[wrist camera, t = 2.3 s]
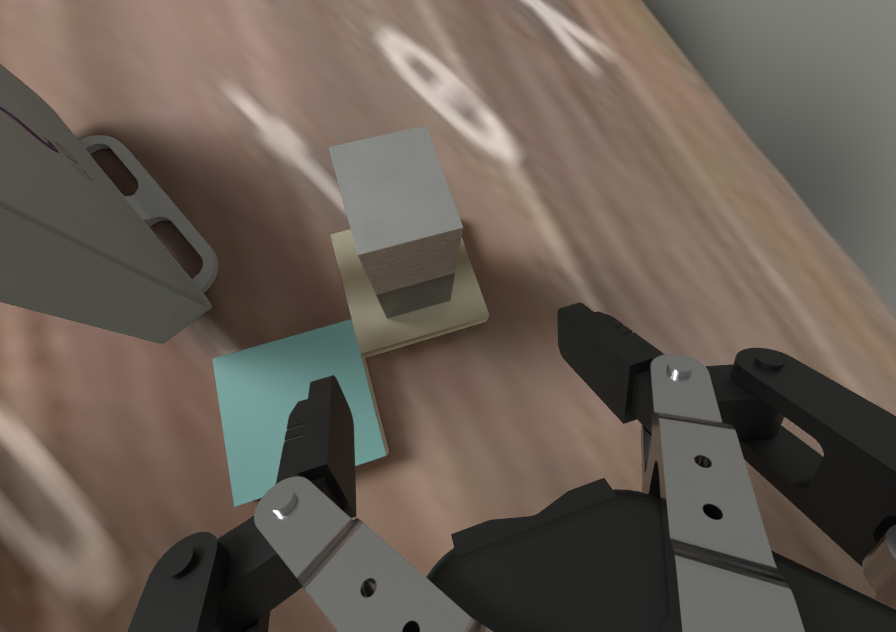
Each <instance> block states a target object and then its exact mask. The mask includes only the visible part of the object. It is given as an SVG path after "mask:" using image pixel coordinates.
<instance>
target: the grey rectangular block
mask: <svg viewBox="0 0 896 632" xmlns="http://www.w3.org/2000/svg"><path fill="white" fill-rule="evenodd" d="M328 148H329V151H330V155H331V159H332V162H333V166H334V170H335V173H336V177H337V181H338V185H339V188H340V192H341V196H342V199H343V203H344V207H345V210H346V214H347V218H348V221H349V225H350V229H351V232H352V236H353V240H354V243H355V247H356V251H357V254H358V257H359V259H360V261H361V263H362V266H363V268H364V270H365V272H366V274H367V277H368V279H369V281H370V283H371V285H372V287H373V290H374V292H375V294H376V296H377V298H378V300H379V303H380V305H381V307H382V309H383V311H384V314H385V316H386V318H387V319H388V318H391V317H395V316H398V315H402V314H405V313H409V312H412V311H416V310H419V309H423V308H426V307H430V306H433V305H437V304H440V303H444V302H447V301H450V300H451V294H452V289H453V283H454V277H455V272H456V266H457V260H458V254H459V249H460V243H461V237H462V232H463V226H462V223H461V220H460V217H459V214H458V212H457V209H456V206H455V203H454V201H453V198H452V195H451V192H450V190H449V187H448V184H447V181H446V179H445V176H444V173H443V170H442V167H441V165H440V162H439V159H438V156H437V154H436V151H435V148H434V145H433V143H432V140H431V137H430V134H429V131H428V129H427V126H422V127H418V128H413V129H408V130H404V131H399V132H395V133H390V134H386V135H381V136H377V137H372V138H368V139H363V140H358V141H354V142H349V143H345V144H340V145H336V146H331V147H328Z"/></svg>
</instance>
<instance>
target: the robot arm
mask: <svg viewBox="0 0 896 632" xmlns="http://www.w3.org/2000/svg"><path fill="white" fill-rule="evenodd" d="M558 346H559V350H560V353H561V355H562V357H563V358H564V360H565V361H566V362H567V363H568V364H569V365H570V366H571V367H572V368H573V370H574V371H575V372H576V373H577V374H578V375H579V376H580V377H581V378H582V379H583V380H584V381H585V383H586V384H587V385H588V386H589V387H590V388H591V389H592V390H593V391H594V392H595V393H596V394H597V396H598V397H599V398H600V399H601V400H602V401H603V402H604V403H605V404H606V405H607V406H608V408H609V409H610V410H611V411H612V412H613V413H614V414H615V415H616V416H617V417H618V418H619V419H620V421H621V422H622V423H623V424H625V423H628V422H630V421H633V420H636V419H637V420H638V421H639V422H640V423H641V424H642V426H641V452H642V479H643V483H642V492H638V491H631V490H612V488H611V487H610V485H609V484H608V483H607V481H606V480H605V479H604V478H603V479H600V480H597V481H594V482H592V483H589V484H586V485H584V486H581V487H578V488H575V489H573V490H570V491H568V492H566V493H565V494H564V495H562V496H561V497H560V498H558V499H557V500H556V501H554V502H553V503H552V504H550V505H549V506H548V507H546V508H545V509H544V510H542V511H541V512H540V513H538V514H537V515H534V516H529V517H518V518H507V519H495V520H489V521H486V522H483V523H481V524H478V525H475V526H473V527H470V528H467V529H464V530H462V531H459V532H456V533H454V534H451V536H452V540H453V544H454V548H453V549H452V550H450V551H449V552H448V553H446V554H445V555H444V556H443V557H442V558H441V559H440V560H439V561H438V562H437V564H436V565H435V566H434V567H433V568H432V570H431V571H430V573H429V574H428V576H427V577H425V576H424V575H423V574H421V573H420V572H419V571H418V570H417V569H416V568H415V567H414V566H412V565H411V564H410V563H409V562H408V561H407V560H406V559H404V558H403V557H402V556H401V555H400V554H399V553H398V552H397V551H395V550H394V549H393V548H392V547H391V546H390V545H389V544H388V543H386V542H385V541H384V540H383V539H382V538H381V537H380V536H378V535H377V534H376V533H375V532H374V531H373V530H372V529H371V528H369V527H368V526H367V525H366V524H365V523H364V522H362V521H361V520H359V519H357V518H356V519H355V520H353V519H351V518H353V517H356V483H355V443H354V421H353V416H352V413H351V410H350V407H349V405H348V403H347V400H346V398H345V396H344V394H343V391H342V389H341V387H340V385H339V383H338V380H337V378H336V377H335V376H334V375H332V376H328V377H325V378H322V379H318V380H315V381H312V382H310V387H309V394H308V399H305V400H302V401H299V402H297V404H296V406H295V407H294V409H293V410H292V412H291V413H290V415H289V419H288V424H287V431H286V434H285V439H284V440H285V442H284V444H283V449H282V454H281V460H280V465H279V470H278V475H277V480H276V485H274V486H273V487H272V488H270V489H269V490H268V491H267V492H266V493H265V495H264V496H263V497H262V498H261V500H260V501H259V503H258V505H257V507H256V510H255V514H254V516H252V517H251V518H250V519H248V520H247V521H245V522H244V523H242V524H241V525H239V526H237V527H236V528H234V529H233V530H231V531H229V532H228V533H226V534H225V535H223V536H221V537H220V538H218V539H217V538H216V537H215V536H214V535H213V534H211V533H208V532H199V533H195V534H192V535H190V536H188V537H186V538H184V539H182V540H181V541H179V542H178V543H176V544H175V545H174V546H173V547H172V548H170V549H169V550H168V551H167V552H166V553H165V554H164V555H163V556H162V558H161V559H160V560H159V561H158V562H157V564H156V565H155V567H154V568H153V570H152V572H151V573H150V576H149V578H148V580H147V583H146V585H145V588H144V591H143V593H142V596H141V598H140V601H139V604H138V606H137V609H136V611H135V614H134V617H133V619H132V622H131V624H130V627H129V630H128V632H268V626H269V617H270V611H271V610H272V609H274V608H275V607H276V606H278V605H279V604H280V603H282V602H283V601H284V600H286V599H287V598H288V597H290V596H291V595H292V594H294V593H295V592H296V591H298V590H299V589H300V588H302V587H304V589H305V590H306V591H307V593H308V594H309V595H310V596H311V598H312V599H313V600H314V601H315V603H316V604H317V605H318V607H319V608H320V609H321V610H322V612H323V613H324V614H325V615H326V617H327V618H328V619H329V621H330V622H331V623H332V624H333V626H334V627H335V628H336V629H337V631H338V632H896V416H894V415H893V414H891V413H889V412H887V411H886V410H884V409H882V408H880V407H879V406H877V405H875V404H873V403H872V402H870V401H868V400H866V399H864V398H863V397H861V396H859V395H857V394H856V393H854V392H852V391H850V390H849V389H847V388H845V387H843V386H842V385H840V384H838V383H836V382H835V381H833V380H831V379H829V378H828V377H826V376H824V375H822V374H821V373H819V372H817V371H815V370H813V369H812V368H810V367H808V366H806V365H805V364H803V363H801V362H799V361H798V360H796V359H794V358H792V357H790V356H789V355H786V354H784V353H782V352H778V351H775V350H771V349H765V348H748V349H744V350H742V351H740V352H739V353H738V354H737V355H736V358H735V361H734V365H720V366H704V365H703V364H702V363H700V362H699V361H697V360H695V359H693V358H691V357H687V356H684V355H678V354H666V355H665V354H663V353H662V352H660V351H659V350H658V349H656V348H655V347H654V346H652V345H651V344H649V343H648V342H647V341H645V340H644V339H643V338H641V337H640V336H638V335H637V334H636V333H633V332H632V330H630V329H629V328H627V327H626V326H623V324H622V323H621V322H619V321H618V320H616V319H615V318H614V317H612V316H609V315H607V314H604V313H601V312H593V311H592V310H590V309H589V308H588V307H586V306H585V305H584V304H582V303H576V304H573V305H569V306H566V307H563V308H560V309H559V310H558ZM784 417H786V418H787V419H789V420H790V421H791V422H793V423H794V424H795V425H797V426H798V427H800V428H801V429H802V430H804V431H805V432H807V433H808V434H809V435H811V436H812V437H813V438H815V439H816V440H817V442H818V443H819V444H820V445H821V447H822V449H823V452H824V457H823V456H821V455H820V454H819V453H817V452H816V451H815V450H813V449H812V448H811V447H809V446H808V445H807V444H805V443H804V442H803V441H801V440H800V439H799V438H797V437H796V436H795V435H793V434H792V433H791V432H789V431H788V430H787V429H785V428H784V427H783V426H781V423H782V421H783V419H784ZM744 459H745V460H746V461H747V462H748V463H749V464H750V465H751V466H752V467H753V468H754V469H756V470H757V471H758V472H759V473H760V474H761V475H762V476H763V477H764V478H765V479H767V480H768V481H769V482H770V483H771V484H772V485H773V486H774V487H775V488H776V489H777V490H779V491H780V492H781V493H782V494H783V495H784V496H785V497H786V498H787V499H788V500H789V501H791V502H792V503H793V504H794V505H795V506H796V507H797V508H798V509H799V510H800V511H802V512H803V513H804V514H805V515H806V516H807V517H808V518H809V519H810V520H811V521H812V522H814V523H815V524H816V525H817V526H818V527H819V528H820V529H821V530H822V531H823V532H824V533H826V534H827V535H828V536H829V537H830V538H831V539H832V540H833V541H834V542H835V543H837V544H838V545H839V546H840V547H841V548H842V549H843V550H844V551H845V552H846V553H847V554H849V555H850V556H851V557H852V558H853V559H854V560H855V561H856V562H857V563H858V564H859V565H861V566H862V568H863V572H864V575H865V577H866V579H867V581H868V583H869V584H870V586H871V587H872V588H873V590H874V591H875V592H876V594H875V600H874V599H872V598H870V597H868V596H866V595H864V594H862V593H860V592H858V591H855V590H853V589H851V588H849V587H847V586H845V585H843V584H841V583H839V582H836V581H834V580H832V579H830V578H828V577H826V576H824V575H822V574H820V573H817V572H815V571H813V570H811V569H809V568H807V567H805V566H803V565H801V564H798V563H796V562H794V561H792V560H790V559H788V558H786V557H784V556H782V555H779V554H777V553H775V552H773V551H771V548H770V545H769V542H768V538H767V535H766V532H765V528H764V525H763V521H762V518H761V515H760V511H759V508H758V505H757V501H756V498H755V494H754V491H753V488H752V484H751V481H750V478H749V474H748V471H747V467H746V464H745V461H744Z"/></svg>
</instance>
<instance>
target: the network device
mask: <svg viewBox="0 0 896 632" xmlns="http://www.w3.org/2000/svg"><path fill="white" fill-rule="evenodd" d="M105 148H106V149H112V150H113V152H114V153H115V154H116V155H117V156H118V158H119V159H120V160H121V161H122V162H123V164H124V165H125V166H126V167H127V168H128V170H129V171H130V172H131V173H132V174H133V176H134V177H135V178H136V179H137V181H138V189H137V191H136V193H135V194H134V195H131V196H123V194H122V193H121V192H120V191H119V189H118V188H117V187H116V186H115V185H114V183H113V182H112V181H111V180H110V178H109V177H108V176H107V175H106V174H105V172H104V171H103V170H102V169H101V167H100V166H99V165H98V164H97V162H96V161H95V160H94V159H93V158H92V156H91V155H90V154H92V153H94V152H95V151H97V150H100V149H105ZM165 220H166V221H172V222H173V224H174V225H175V226H176V227H177V228H178V230H179V231H180V232H181V233H182V234H183V236H184V237H185V238H186V239H187V240H188V242H189V243H190V244H191V245H192V246H193V248H194V249H195V250H196V251H197V252H198V254H199V255H200V256H201V258H202V260H203V267H202V269H201V271H200V272H199V274H198V275H196V276H195V277H194V278H192V279H191V278H190V277H189V275H188V274H187V273H186V272H185V270H184V269H183V268H182V267H181V266H180V264H179V263H178V262H177V261H176V259H175V258H174V257H173V256H172V255H171V253H170V252H169V251H168V250H167V248H166V247H165V246H164V245H163V243H162V242H161V241H160V240H159V239H158V237H157V236H156V235H155V234H154V232H153V231H152V230H151V229H150V228H149V227H151V226H152V225H154V224H156V223H157V222H160V221H165ZM218 269H219V264H218V258H217V255H216V253H215V252H214V250H213V249H212V247H211V246H210V245H209V244H208V243H207V242H206V240H205V239H204V238H203V237H202V236H201V234H200V233H199V232H198V231H197V230H196V229H195V227H194V226H193V225H192V224H191V223H190V221H189V220H188V219H187V218H186V217H185V216H184V214H183V213H182V212H181V211H180V210H179V208H178V207H177V206H176V205H175V204H174V203H173V201H172V200H171V199H170V198H169V197H168V195H167V194H166V193H165V192H164V191H163V190H162V188H161V187H160V186H159V185H158V184H157V182H156V181H155V180H154V179H153V178H152V177H151V175H150V174H149V173H148V172H147V171H146V169H145V168H144V167H143V166H142V165H141V164H140V162H139V161H138V160H137V159H136V158H135V156H134V155H133V154H132V153H131V152H130V151H129V149H128V148H126V147H125V146H124V145H123V144H122V143H121V142H120V141H119V140H117V139H115V138H113V137H109V136H105V135H94V136H88V137H85V138H82V139H79V140H78V139H77V138H76V137H75V135H74V134H73V133H72V132H71V131H70V129H69V128H68V127H67V126H66V124H65V123H64V122H63V121H62V120H61V118H60V117H59V116H58V115H57V113H56V112H55V111H54V110H53V109H52V108H51V107H50V106H49V105H48V104H47V103H46V102H45V101H44V100H43V99H42V98H41V97H39V96H38V95H37V94H36V93H35V92H34V91H33V90H31V89H30V88H29V87H28V86H27V85H25V84H24V83H23V82H22V81H21V80H19V79H18V78H17V77H16V76H14V75H13V74H12V73H11V72H9V71H8V70H7V69H6V68H5V67H3V66H2V65H1V64H0V302H3V303H7V304H10V305H14V306H18V307H22V308H26V309H30V310H33V311H37V312H41V313H45V314H49V315H53V316H56V317H60V318H64V319H68V320H72V321H76V322H79V323H83V324H87V325H91V326H95V327H99V328H103V329H106V330H110V331H114V332H118V333H122V334H126V335H129V336H133V337H137V338H141V339H145V340H149V341H152V342H156V343H165V342H167V341H168V340H169V339H171V338H172V337H173V336H175V335H176V334H177V333H179V332H180V331H181V330H183V329H184V328H185V327H187V326H188V325H189V324H191V323H192V322H194V321H195V320H196V319H198V318H199V317H200V316H202V315H203V314H204V313H206V312H207V311H208V310H210V309H211V308H212V305H211V303H210V301H209V300H208V299H207V297H206V296H205V295H204V293H205V292H206V291H207V290H208V289H209V288H210V287H211V286H212V284H213V283H214V281H215V279H216V277H217V273H218Z"/></svg>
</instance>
